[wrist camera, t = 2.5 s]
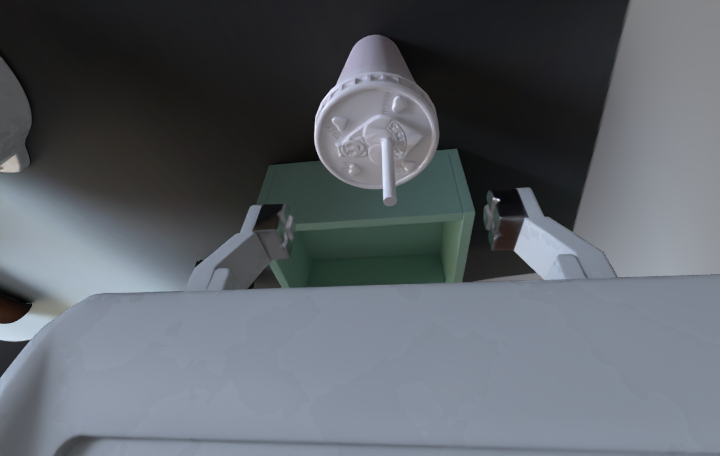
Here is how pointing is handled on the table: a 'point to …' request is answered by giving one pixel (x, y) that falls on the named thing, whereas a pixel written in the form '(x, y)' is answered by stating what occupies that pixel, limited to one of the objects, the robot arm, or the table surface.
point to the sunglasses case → (12, 309)
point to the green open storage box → (373, 226)
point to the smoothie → (376, 121)
